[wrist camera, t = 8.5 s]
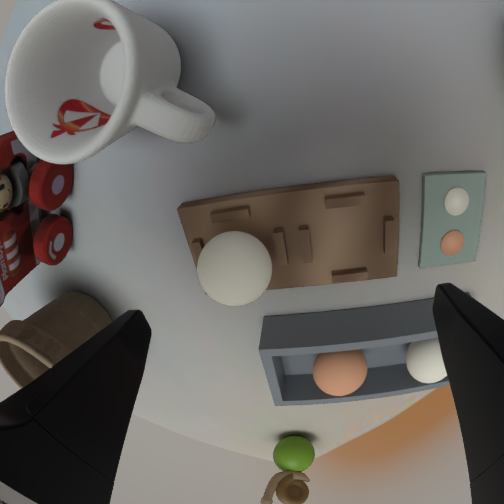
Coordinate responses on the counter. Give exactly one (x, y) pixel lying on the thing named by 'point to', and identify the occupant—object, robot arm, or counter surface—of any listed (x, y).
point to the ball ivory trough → (425, 361)
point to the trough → (344, 339)
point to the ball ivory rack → (234, 268)
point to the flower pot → (49, 335)
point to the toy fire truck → (30, 212)
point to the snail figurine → (290, 471)
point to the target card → (451, 217)
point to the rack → (309, 229)
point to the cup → (96, 82)
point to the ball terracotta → (340, 371)
